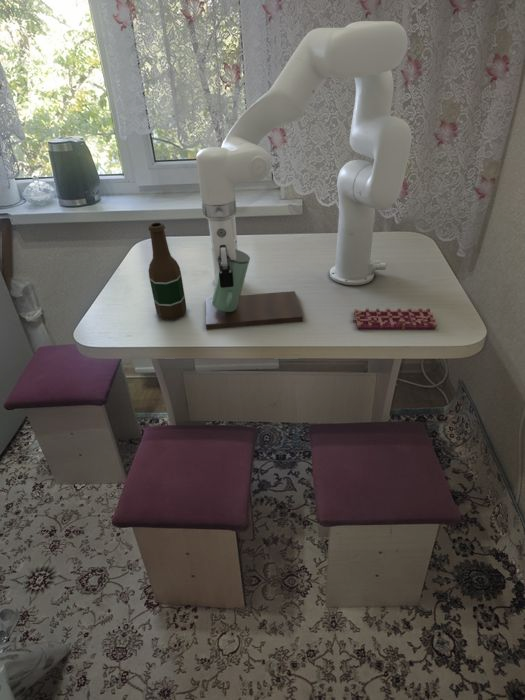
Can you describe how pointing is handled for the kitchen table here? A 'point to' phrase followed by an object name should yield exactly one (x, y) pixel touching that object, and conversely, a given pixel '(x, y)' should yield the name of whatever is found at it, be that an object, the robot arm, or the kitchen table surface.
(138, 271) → the kitchen table surface
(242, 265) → the jug
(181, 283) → the beer bottle
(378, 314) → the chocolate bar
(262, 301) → the serving board
